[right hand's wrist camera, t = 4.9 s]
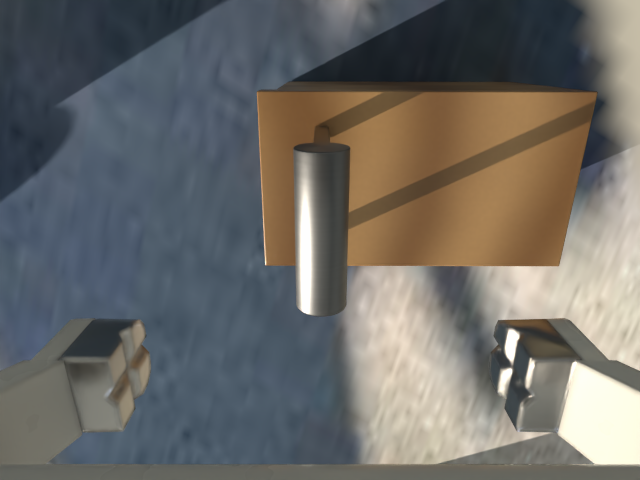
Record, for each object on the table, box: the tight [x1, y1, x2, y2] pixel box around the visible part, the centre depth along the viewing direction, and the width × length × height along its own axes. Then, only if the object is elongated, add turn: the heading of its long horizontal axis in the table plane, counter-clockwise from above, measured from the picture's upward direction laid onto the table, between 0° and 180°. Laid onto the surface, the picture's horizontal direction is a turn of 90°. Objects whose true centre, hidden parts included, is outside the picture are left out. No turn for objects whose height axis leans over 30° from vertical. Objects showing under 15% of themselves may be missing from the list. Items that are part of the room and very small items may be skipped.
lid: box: [257, 90, 598, 317], centre depth 20 cm, size 16×9×9 cm, turn 90°
